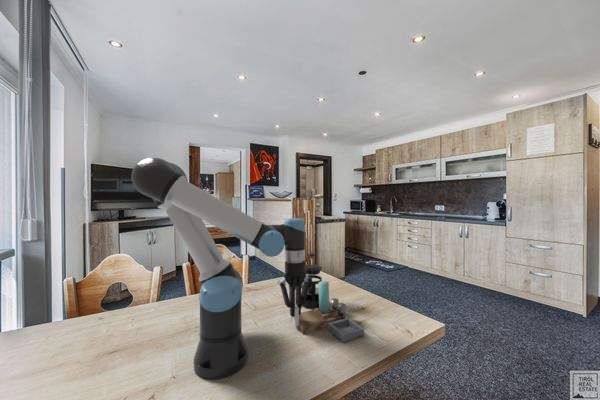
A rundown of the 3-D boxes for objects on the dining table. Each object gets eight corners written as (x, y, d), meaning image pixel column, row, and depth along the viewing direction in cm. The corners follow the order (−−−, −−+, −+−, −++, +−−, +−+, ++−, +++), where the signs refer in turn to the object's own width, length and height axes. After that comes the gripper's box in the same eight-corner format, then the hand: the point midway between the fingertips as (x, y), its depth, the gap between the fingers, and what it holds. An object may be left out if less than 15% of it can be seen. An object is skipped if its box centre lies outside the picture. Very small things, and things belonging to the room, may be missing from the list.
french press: (321, 299, 117) (321, 251, 117) (325, 308, 108) (325, 255, 108) (296, 301, 116) (296, 251, 115) (298, 310, 106) (298, 256, 106)
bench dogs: (341, 322, 96) (341, 306, 96) (329, 313, 103) (329, 299, 103) (347, 320, 97) (347, 305, 97) (335, 312, 105) (335, 297, 104)
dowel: (323, 316, 95) (321, 285, 95) (317, 312, 98) (316, 282, 99) (331, 314, 97) (330, 283, 97) (326, 310, 100) (325, 280, 100)
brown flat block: (303, 335, 88) (303, 323, 88) (291, 322, 97) (291, 311, 97) (340, 324, 95) (340, 314, 95) (326, 313, 104) (326, 303, 104)
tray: (342, 343, 82) (342, 335, 82) (328, 330, 91) (328, 323, 90) (364, 336, 86) (364, 329, 86) (348, 324, 94) (348, 317, 94)
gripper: (282, 265, 85) (282, 333, 86) (315, 260, 91) (315, 324, 91) (274, 260, 92) (275, 323, 92) (306, 256, 98) (306, 316, 98)
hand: (295, 324), depth 92 cm, fingers closed
